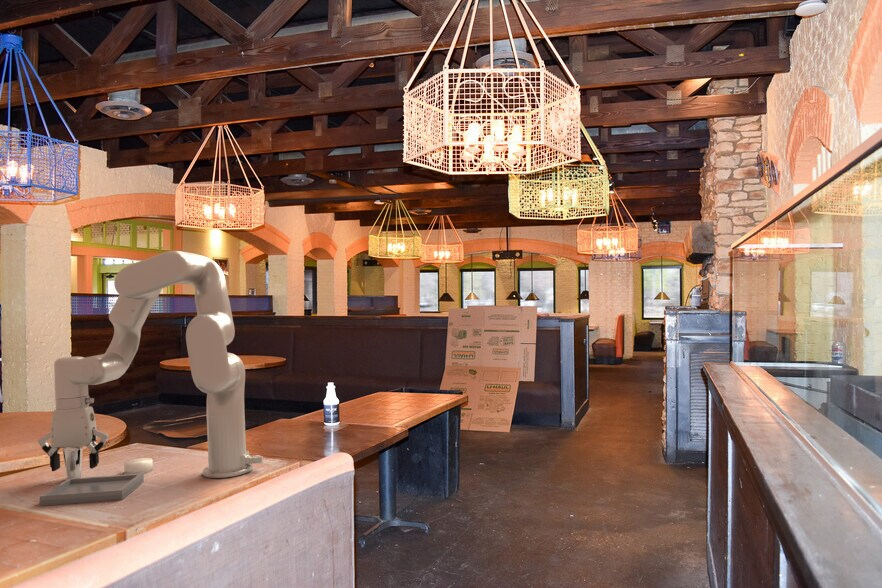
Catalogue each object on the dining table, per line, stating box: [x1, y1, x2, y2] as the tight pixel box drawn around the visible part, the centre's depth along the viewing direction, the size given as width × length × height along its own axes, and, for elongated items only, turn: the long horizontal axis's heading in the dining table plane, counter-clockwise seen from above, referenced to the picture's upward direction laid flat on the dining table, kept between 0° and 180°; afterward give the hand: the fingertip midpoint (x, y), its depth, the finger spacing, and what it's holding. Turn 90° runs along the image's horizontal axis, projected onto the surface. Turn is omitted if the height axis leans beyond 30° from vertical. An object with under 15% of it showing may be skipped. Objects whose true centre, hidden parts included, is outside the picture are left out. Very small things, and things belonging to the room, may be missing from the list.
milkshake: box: [62, 446, 84, 480], centre depth 164 cm, size 4×5×10 cm
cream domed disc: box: [123, 457, 154, 475], centre depth 168 cm, size 7×7×3 cm
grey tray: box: [39, 473, 145, 507], centre depth 150 cm, size 18×14×2 cm
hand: (74, 468), depth 164 cm, fingers open, 9 cm apart
